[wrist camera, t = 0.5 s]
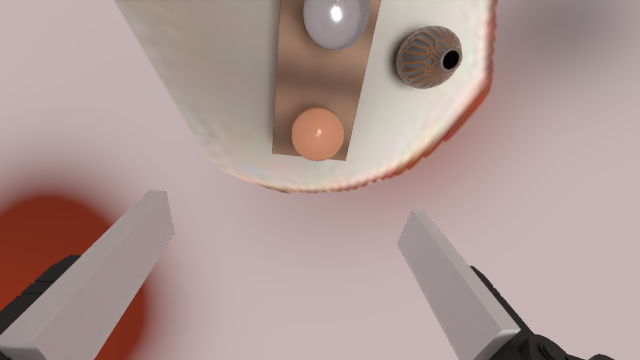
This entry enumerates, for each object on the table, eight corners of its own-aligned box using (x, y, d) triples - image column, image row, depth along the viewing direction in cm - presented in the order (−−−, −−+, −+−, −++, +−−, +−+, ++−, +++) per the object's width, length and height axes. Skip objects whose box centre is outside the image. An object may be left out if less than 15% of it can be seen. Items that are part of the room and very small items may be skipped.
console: (285, -30, 26) (283, -51, 21) (368, -11, 28) (386, -26, 22) (275, 138, 35) (272, 153, 30) (338, 145, 37) (345, 160, 32)
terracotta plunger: (294, 95, 28) (294, 106, 23) (338, 102, 29) (349, 113, 24) (290, 139, 31) (289, 158, 25) (330, 143, 32) (338, 163, 26)
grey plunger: (304, -18, 23) (308, -40, 18) (357, -6, 24) (377, -24, 18) (298, 46, 26) (300, 43, 20) (346, 54, 27) (361, 54, 21)
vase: (447, 47, 32) (497, 45, 24) (416, 93, 34) (451, 105, 27) (410, 17, 29) (451, 4, 22) (379, 69, 32) (406, 74, 24)
